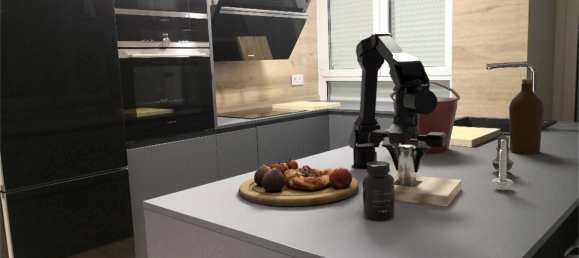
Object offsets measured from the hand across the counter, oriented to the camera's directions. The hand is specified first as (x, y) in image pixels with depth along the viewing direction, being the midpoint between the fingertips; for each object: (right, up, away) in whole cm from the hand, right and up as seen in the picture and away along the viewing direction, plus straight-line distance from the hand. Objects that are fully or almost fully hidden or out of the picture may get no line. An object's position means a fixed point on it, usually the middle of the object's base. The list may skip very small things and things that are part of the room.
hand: (407, 171), depth 124 cm
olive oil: (+52, +3, +45) cm, 69 cm away
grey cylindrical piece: (0, -4, +1) cm, 4 cm away
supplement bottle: (-10, -9, -17) cm, 22 cm away
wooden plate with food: (-27, -6, +7) cm, 29 cm away
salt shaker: (+31, -2, +16) cm, 35 cm away
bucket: (+20, +3, +57) cm, 60 cm away
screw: (+24, -5, +1) cm, 25 cm away
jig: (+3, -6, -1) cm, 6 cm away
